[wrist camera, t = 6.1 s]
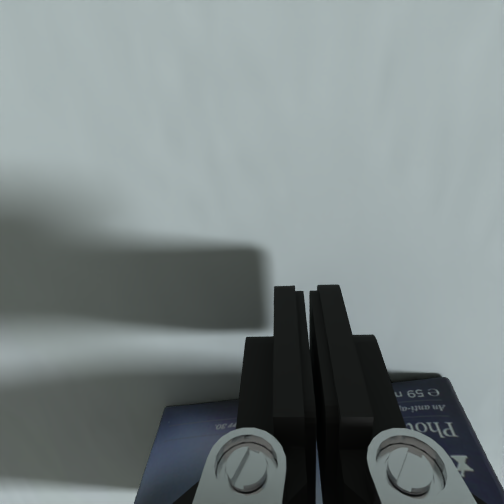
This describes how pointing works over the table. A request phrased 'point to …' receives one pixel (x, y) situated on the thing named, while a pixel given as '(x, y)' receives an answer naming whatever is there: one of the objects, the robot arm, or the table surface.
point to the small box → (225, 417)
